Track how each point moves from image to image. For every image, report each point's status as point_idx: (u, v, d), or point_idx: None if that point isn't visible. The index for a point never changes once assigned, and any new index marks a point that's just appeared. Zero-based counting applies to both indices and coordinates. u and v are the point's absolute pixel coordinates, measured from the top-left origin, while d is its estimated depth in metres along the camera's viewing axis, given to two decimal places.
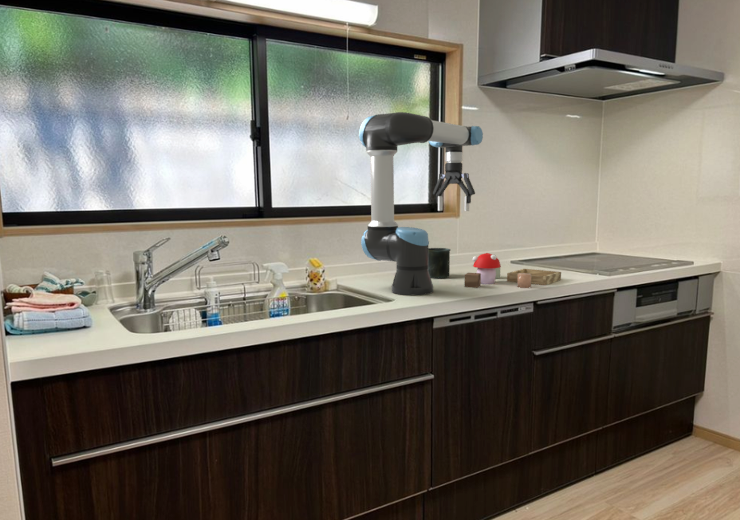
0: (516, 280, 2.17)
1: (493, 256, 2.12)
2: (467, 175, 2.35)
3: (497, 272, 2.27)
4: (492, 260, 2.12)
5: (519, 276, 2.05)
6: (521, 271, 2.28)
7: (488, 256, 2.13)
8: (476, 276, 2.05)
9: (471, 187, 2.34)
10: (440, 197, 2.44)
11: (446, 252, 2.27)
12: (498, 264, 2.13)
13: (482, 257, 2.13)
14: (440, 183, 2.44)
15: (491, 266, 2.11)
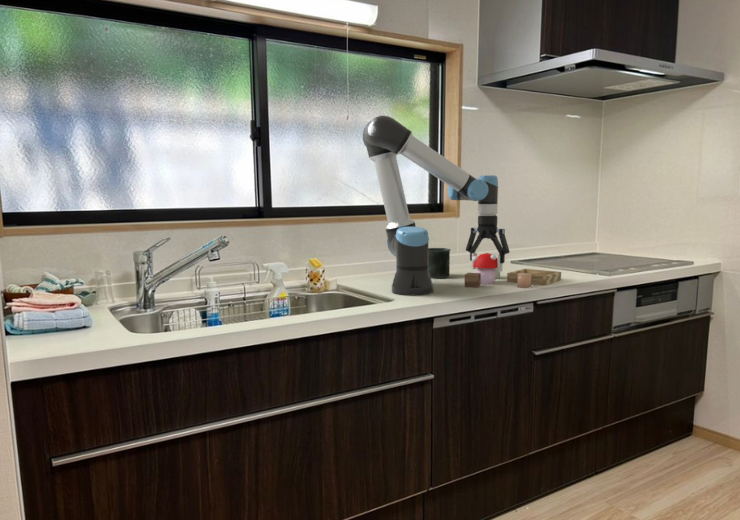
0: (516, 280, 2.17)
1: (493, 256, 2.12)
2: (503, 231, 2.10)
3: (497, 272, 2.27)
4: (492, 260, 2.12)
5: (519, 276, 2.05)
6: (521, 271, 2.28)
7: (488, 256, 2.13)
8: (476, 276, 2.05)
9: (506, 245, 2.10)
10: (474, 254, 2.19)
11: (446, 252, 2.27)
12: None
13: (482, 257, 2.13)
14: (473, 238, 2.19)
15: (491, 266, 2.11)
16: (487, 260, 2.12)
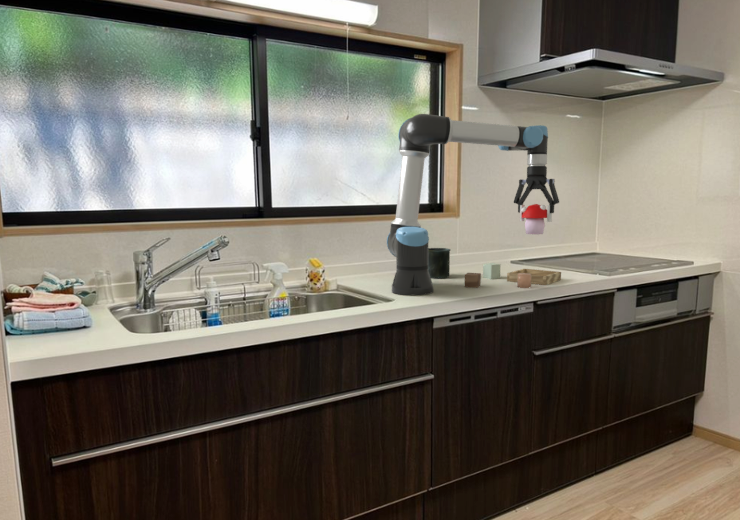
0: (516, 280, 2.17)
1: (543, 206, 2.13)
2: (553, 181, 2.12)
3: (497, 272, 2.27)
4: (542, 210, 2.13)
5: (519, 276, 2.05)
6: (521, 271, 2.28)
7: (537, 206, 2.15)
8: (476, 276, 2.05)
9: (556, 195, 2.11)
10: (522, 206, 2.20)
11: (446, 252, 2.27)
12: None
13: (531, 207, 2.15)
14: (521, 190, 2.20)
15: (541, 216, 2.13)
16: (537, 210, 2.13)
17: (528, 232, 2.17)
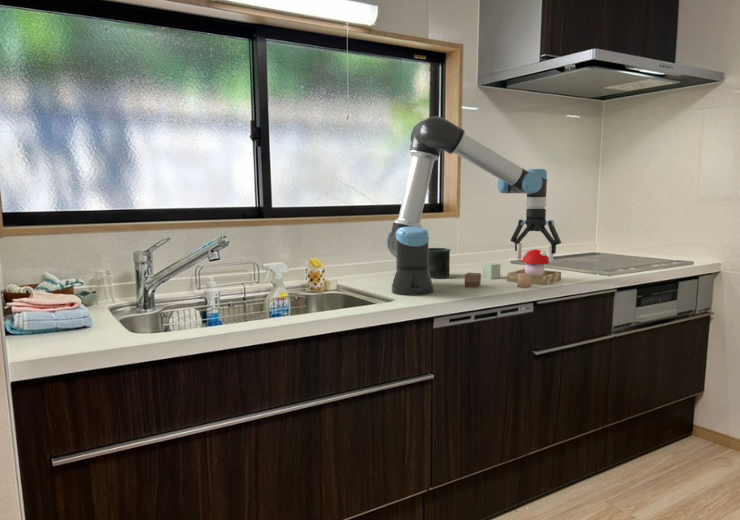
0: (516, 280, 2.17)
1: (543, 252, 2.16)
2: (552, 223, 2.14)
3: (497, 272, 2.27)
4: (542, 256, 2.15)
5: (519, 276, 2.05)
6: (521, 271, 2.28)
7: (538, 252, 2.17)
8: (476, 276, 2.05)
9: (557, 236, 2.13)
10: (519, 245, 2.23)
11: (446, 252, 2.27)
12: (547, 260, 2.17)
13: (532, 253, 2.17)
14: (519, 229, 2.23)
15: (541, 262, 2.15)
16: (537, 256, 2.15)
17: None
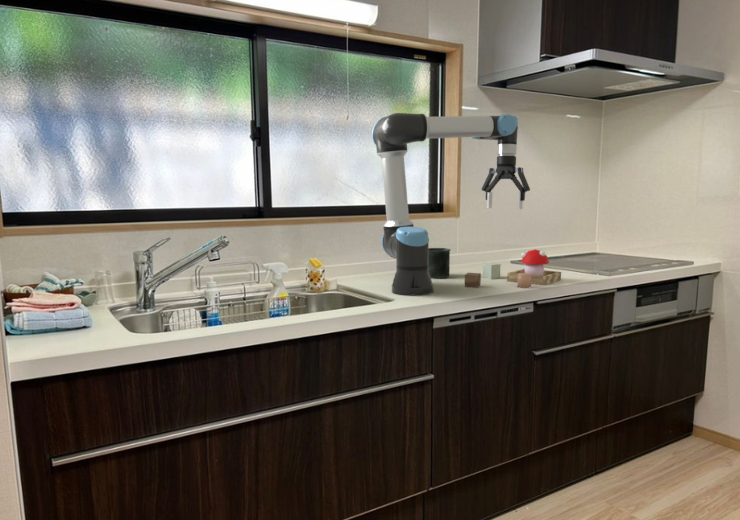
0: (516, 280, 2.17)
1: (542, 252, 2.16)
2: (522, 170, 2.14)
3: (497, 272, 2.27)
4: (541, 256, 2.15)
5: (519, 276, 2.05)
6: (521, 271, 2.28)
7: (537, 252, 2.17)
8: (476, 276, 2.05)
9: (526, 183, 2.13)
10: (490, 193, 2.24)
11: (446, 252, 2.27)
12: (547, 260, 2.17)
13: (531, 253, 2.17)
14: (490, 178, 2.23)
15: (540, 262, 2.15)
16: (536, 256, 2.15)
17: None
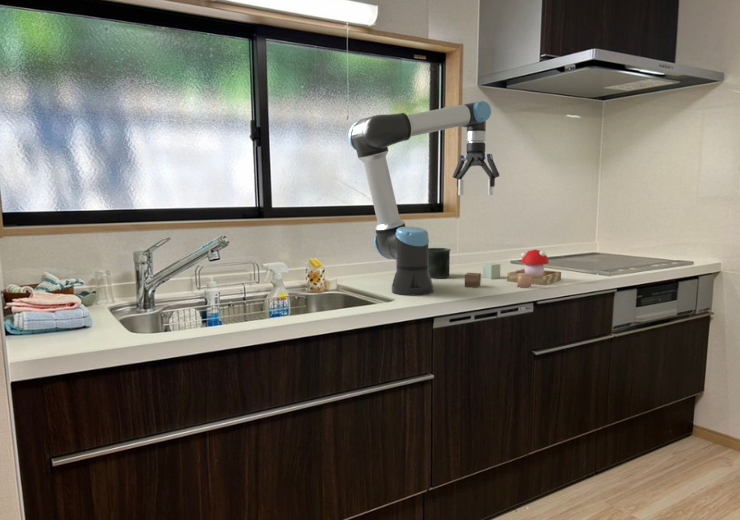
0: (516, 280, 2.17)
1: (542, 252, 2.16)
2: (491, 156, 2.17)
3: (497, 272, 2.27)
4: (541, 256, 2.15)
5: (519, 276, 2.05)
6: (521, 271, 2.28)
7: (537, 252, 2.17)
8: (476, 276, 2.05)
9: (495, 169, 2.16)
10: (461, 180, 2.26)
11: (446, 252, 2.27)
12: (547, 260, 2.17)
13: (531, 253, 2.17)
14: (461, 165, 2.26)
15: (540, 262, 2.15)
16: (536, 256, 2.15)
17: None
